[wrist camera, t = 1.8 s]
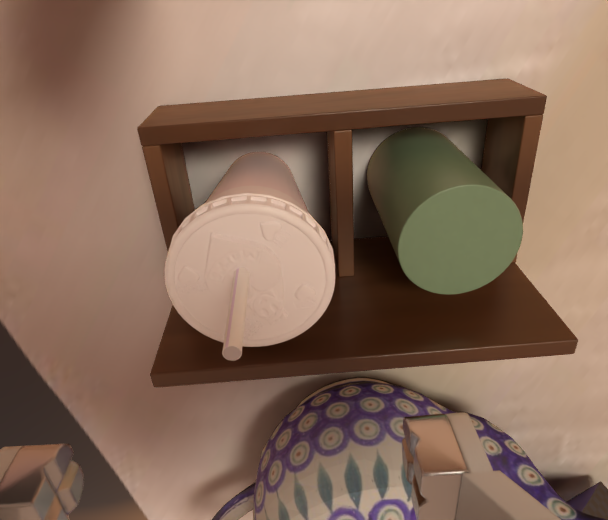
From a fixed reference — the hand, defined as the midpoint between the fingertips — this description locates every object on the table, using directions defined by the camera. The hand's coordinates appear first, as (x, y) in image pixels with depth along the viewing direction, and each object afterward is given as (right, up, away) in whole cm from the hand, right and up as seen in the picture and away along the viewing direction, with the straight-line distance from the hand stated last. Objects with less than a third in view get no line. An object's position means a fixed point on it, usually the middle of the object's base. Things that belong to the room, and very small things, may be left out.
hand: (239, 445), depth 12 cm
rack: (+3, +9, +14) cm, 17 cm away
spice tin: (+7, +9, +14) cm, 18 cm away
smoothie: (-1, +9, +14) cm, 17 cm away
